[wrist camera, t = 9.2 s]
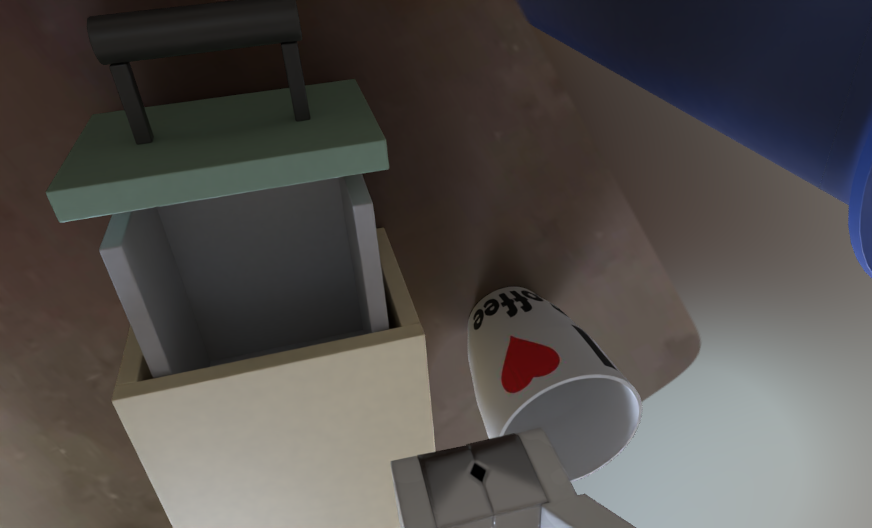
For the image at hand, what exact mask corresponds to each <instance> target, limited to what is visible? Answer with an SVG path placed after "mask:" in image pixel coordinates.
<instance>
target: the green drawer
mask: <svg viewBox="0 0 872 528" xmlns="http://www.w3.org/2000/svg"><path fill="white" fill-rule="evenodd" d="M87 30H88V35H89V39H90V43H91V46H92V48H93V51H94V53H95V55H96V57H97V59H98V60H99V62H100V63H101V64H103V65H107V64H111V65H110V70H111V73H112V76H113V79H114V81H115V84H116V87H117V90H118V93H119V96H120V99H121V102H122V105H123V108H124V110H122V111H115V112H108V113H100V114H93V115H92V116H91V118H90V120H89V121H88V123H87V125H86V126H85V128H84V130H83V131H82V133H81V135H80V136H79V138H78V140H77V141H76V143H75V144H74V146H73V148H72V149H71V151H70V153H69V154H68V156H67V158H66V159H65V161H64V163H63V164H62V166H61V168H60V169H59V171H58V173H57V174H56V176H55V177H54V179H53V181H52V182H51V184H50V186H49V187H48V189H47V191H46V194H47V197H48V199H49V201H50V203H51V205H52V208H53V210H54V212H55V214H56V216H57V219H58V221H59V222H60V223H62V222H68V221H74V220H80V219H86V218H92V217H98V216H104V215H111V214H112V217H111V219H110V222H109V224H108V227H107V230H106V232H105V235H104V238H103V240H102V243H101V246H100V248H99V251H100V254H101V256H102V259H103V261H104V263H105V266H106V268H107V270H108V273H109V275H110V277H111V280H112V282H113V285H114V287H115V289H116V292H117V294H118V296H119V299H120V301H121V304H122V306H123V308H124V311H125V313H126V315H127V318H128V320H129V322H130V325H131V327H132V330H133V332H134V334H135V337H136V339H137V341H138V344H139V346H140V348H141V351H142V353H143V356H144V358H145V360H146V363H147V365H148V367H149V370H150V372H151V374H152V377H153V379H154V378H159V377H164V376H168V375H173V374H178V373H183V372H188V371H192V370H197V369H202V368H207V367H211V366H216V365H221V364H226V363H231V362H235V361H240V360H245V359H250V358H255V357H259V356H264V355H269V354H274V353H279V352H283V351H288V350H293V349H298V348H302V347H307V346H312V345H317V344H322V343H326V342H331V341H336V340H341V339H346V338H350V337H355V336H360V335H365V334H370V333H374V332H379V331H384V330H389V322H388V315H387V307H386V300H385V292H384V284H383V277H382V269H381V261H380V254H379V246H378V238H377V231H376V223H375V216H374V208H373V202H372V200H371V197H370V194H369V192H368V189H367V186H366V184H365V181H364V178H363V176H362V173H368V172H374V171H380V170H387V169H389V162H388V153H387V144H386V139H385V137H384V135H383V133H382V131H381V129H380V127H379V125H378V123H377V121H376V119H375V117H374V115H373V113H372V111H371V109H370V107H369V106H368V104H367V102H366V100H365V98H364V96H363V94H362V92H361V90H360V88H359V86H358V84H357V82H356V80H355V79H350V80H343V81H336V82H328V83H321V84H314V85H306V86H305V83H304V78H303V72H302V67H301V61H300V55H299V50H298V44H297V41H301V40H302V33H301V27H300V21H299V15H298V10H297V5H296V0H234V1H225V2H216V3H207V4H198V5H189V6H179V7H170V8H161V9H152V10H143V11H134V12H125V13H116V14H107V15H98V16H90V17H88V19H87ZM277 43H281V48H282V53H283V58H284V63H285V69H286V74H287V79H288V84H289V88H284V89H277V90H269V91H262V92H255V93H247V94H240V95H233V96H225V97H218V98H211V99H203V100H196V101H189V102H181V103H174V104H167V105H159V106H152V107H145V108H144V105H143V102H142V99H141V96H140V93H139V90H138V87H137V84H136V80H135V77H134V74H133V71H132V68H131V65H130V62H131V61H139V60H148V59H156V58H164V57H172V56H180V55H188V54H196V53H204V52H212V51H220V50H229V49H237V48H245V47H253V46H261V45H269V44H277Z"/></svg>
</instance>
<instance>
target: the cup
mask: <svg viewBox="0 0 872 528" xmlns="http://www.w3.org/2000/svg"><path fill="white" fill-rule="evenodd" d="M468 359H469V364H470V369H471V374H472V379H473V384H474V389H475V395H476V400H477V404H478V407H479V410H480V413H481V416H482V419H483V422H484V425H485V428H486V431H487V434H488V436H489V439H491V438H495V437H499V436H503V435H507V434H511V433H515V434H516V433H518V432H523V431H527V430H531V429H536V428H540V427H541V428H542V429H543V430H544V431H545V433H546V435H547V437H548V438H549V440H550V442H551V444H552V446H553V448H554V450H555V452H556V454H557V456H558V458H559V460H560V462H561V464H562V466H563V468H564V470H565V472H566V474H567V476H568V478H569V480H570V482H574V481H577V480H579V479H582V478H584V477H586V476H588V475H590V474H592V473H594V472H596V471H597V470H599V469H601V468H602V467H604V466H605V465H607V464H608V463H609V462H611V461H612V460H613V459H614V458H615V457H617V456H618V455H619V454H620V453H621V452H622V451H623V450H624V449H625V447H626V446H627V445H628V444H629V442H630V441H631V439H632V438H633V437H634V435H635V433H636V431H637V429H638V427H639V424H640V421H641V417H642V402H641V398H640V396H639V394H638V392H637V391H636V389H635V388H634V387H633V386H632V385H631V383H630V382H629V381H628V380H627V379H626V378H625V376H624V375H623V374H622V373H621V372H620V370H619V369H618V368H617V367H616V366H615V365H614V363H613V362H612V361H611V360H610V359H609V357H608V356H607V355H606V354H605V353H604V352H603V350H602V349H601V348H600V347H599V346H598V344H597V343H596V342H595V341H594V340H593V339H592V338H591V337H590V336H589V335H588V334H587V333H586V332H584V331H583V330H582V329H581V328H580V327H579V326H578V325H577V324H576V323H575V322H573V321H572V320H571V319H570V318H569V317H568V316H567V315H566V314H565V313H563V312H562V311H561V310H560V309H559V308H558V307H557V306H555V305H553V304H552V303H550V302H548V301H547V300H545V299H543V298H542V297H540V296H538V295H537V294H535V293H533V292H532V291H530V290H528V289H526V288H522V287H506V288H502V289H498V290H496V291H494V292H492V293H490V294H488V295H487V296H485V297H484V298H483V299H482V300H480V301H479V302H478V304H477V305H476V306H475V307H474V309H473V310H472V312H471V314H470V317H469V321H468Z"/></svg>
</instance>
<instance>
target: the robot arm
mask: <svg viewBox="0 0 872 528" xmlns="http://www.w3.org/2000/svg"><path fill="white" fill-rule="evenodd" d="M390 465H391V472H392V479H393V486H394V493H395V500H396V506H397V512H398V518H399V524H400V528H636V527H634V526H633V525H631V524H630V523H628V522H627V521H625V520H624V519H622V518H621V517H619V516H617V515H616V514H615V513H613V512H611V511H610V510H608V509H607V508H605V507H604V506H602V505H601V504H599V503H597V502H596V501H595V500H593V499H592V498H590V497H589V496H587V495H586V494H583V495H577V494H576V492H575V490H574V488H573V486H572V484H571V482H570V480H569V478H568V476H567V474H566V472H565V470H564V468H563V466H562V464H561V462H560V460H559V458H558V456H557V454H556V452H555V450H554V448H553V446H552V444H551V442H550V440H549V438H548V437H547V435H546V433H545V431H544V430H543V429H542V428H541V427H540V428H536V429H531V430H527V431H523V432H518V433H516V434H515V433H511V434H507V435H503V436H499V437H495V438H491V439H487V440H483V441H478V442H474V443H470V444H466V446H461V447H456V448H451V449H446V450H441V451H436V452H431V453H426V454H421V455H417V456H412V457H407V458H403V459H398V460H393V461H391V463H390Z"/></svg>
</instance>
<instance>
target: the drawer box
mask: <svg viewBox="0 0 872 528" xmlns="http://www.w3.org/2000/svg"><path fill="white" fill-rule="evenodd" d="M376 231H377V238H378V246H379V254H380V261H381V269H382V277H383V284H384V292H385V300H386V307H387V315H388V322H389V330H384V331H379V332H374V333H370V334H365V335H360V336H355V337H350V338H346V339H341V340H336V341H331V342H326V343H322V344H317V345H312V346H307V347H302V348H298V349H293V350H288V351H283V352H279V353H274V354H269V355H264V356H259V357H255V358H250V359H245V360H240V361H235V362H231V363H226V364H221V365H216V366H211V367H207V368H202V369H197V370H192V371H188V372H183V373H178V374H173V375H168V376H164V377H159V378H154V379H153V377H152V374H151V372H150V370H149V367H148V365H147V363H146V360H145V358H144V356H143V353H142V351H141V348H140V346H139V344H138V341H137V339H136V337H135V334H134V332H133V330H132V327H131V325H130V329H129V333H128V337H127V341H126V345H125V349H124V354H123V358H122V362H121V366H120V370H119V374H118V378H117V382H116V387H115V389H114V393H113V397H112V403H113V405H114V407H115V409H116V411H117V413H118V415H119V417H120V419H121V422H122V424H123V426H124V428H125V430H126V432H127V434H128V436H129V438H130V440H131V442H132V444H133V446H134V448H135V450H136V452H137V454H138V457H139V459H140V461H141V463H142V465H143V467H144V469H145V471H146V473H147V475H148V477H149V479H150V481H151V483H152V485H153V487H154V489H155V491H156V494H157V496H158V498H159V500H160V502H161V504H162V506H163V508H164V510H165V512H166V514H167V516H168V518H169V520H170V522H171V524H172V526H173V528H400V524H399V518H398V512H397V506H396V500H395V493H394V486H393V479H392V472H391V465H390V463H391V461H393V460H398V459H403V458H407V457H412V456H417V455H421V454H426V453H431V452H435V441H434V430H433V419H432V408H431V398H430V387H429V376H428V365H427V354H426V343H425V334H424V331H423V329H422V326H421V324H420V321H419V318H418V316H417V313H416V310H415V308H414V305H413V302H412V300H411V297H410V295H409V292H408V289H407V287H406V284H405V281H404V279H403V276H402V274H401V271H400V268H399V266H398V263H397V260H396V258H395V255H394V252H393V250H392V247H391V245H390V242H389V239H388V237H387V234H386V232H385V229H384V228H378V229H376Z"/></svg>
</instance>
